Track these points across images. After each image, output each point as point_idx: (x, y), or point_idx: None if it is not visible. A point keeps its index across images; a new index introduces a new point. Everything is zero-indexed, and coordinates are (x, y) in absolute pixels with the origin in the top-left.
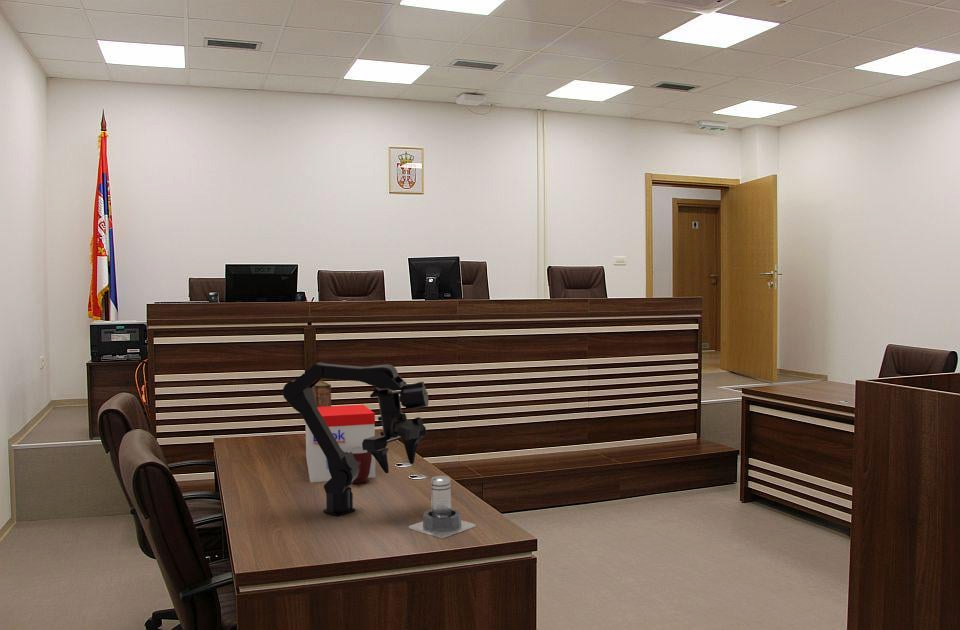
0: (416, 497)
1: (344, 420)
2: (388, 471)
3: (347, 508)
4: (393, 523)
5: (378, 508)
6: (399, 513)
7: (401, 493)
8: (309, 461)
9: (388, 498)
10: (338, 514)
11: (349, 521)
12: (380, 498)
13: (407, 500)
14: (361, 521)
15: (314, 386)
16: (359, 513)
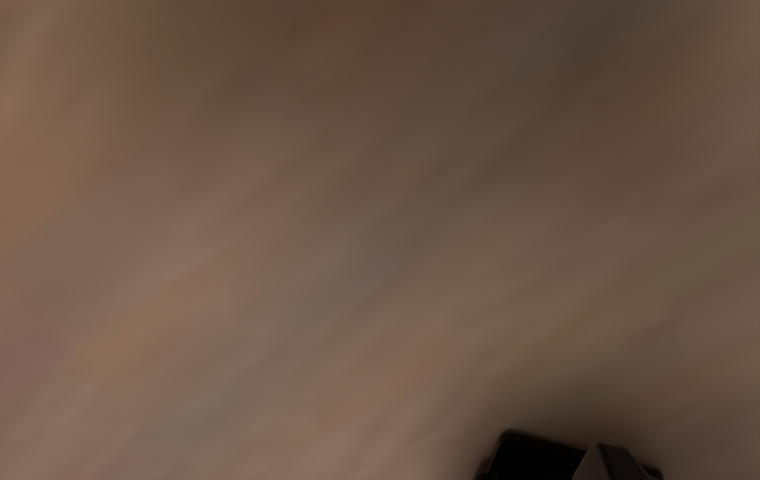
0: (17, 239)
1: None
2: (606, 456)
3: (564, 476)
4: (677, 9)
5: (374, 335)
6: (397, 133)
7: (32, 368)
8: None
9: (163, 385)
10: (654, 475)
11: (739, 357)
12: (195, 425)
13: (110, 258)
14: (711, 284)
15: None
16: (535, 387)
